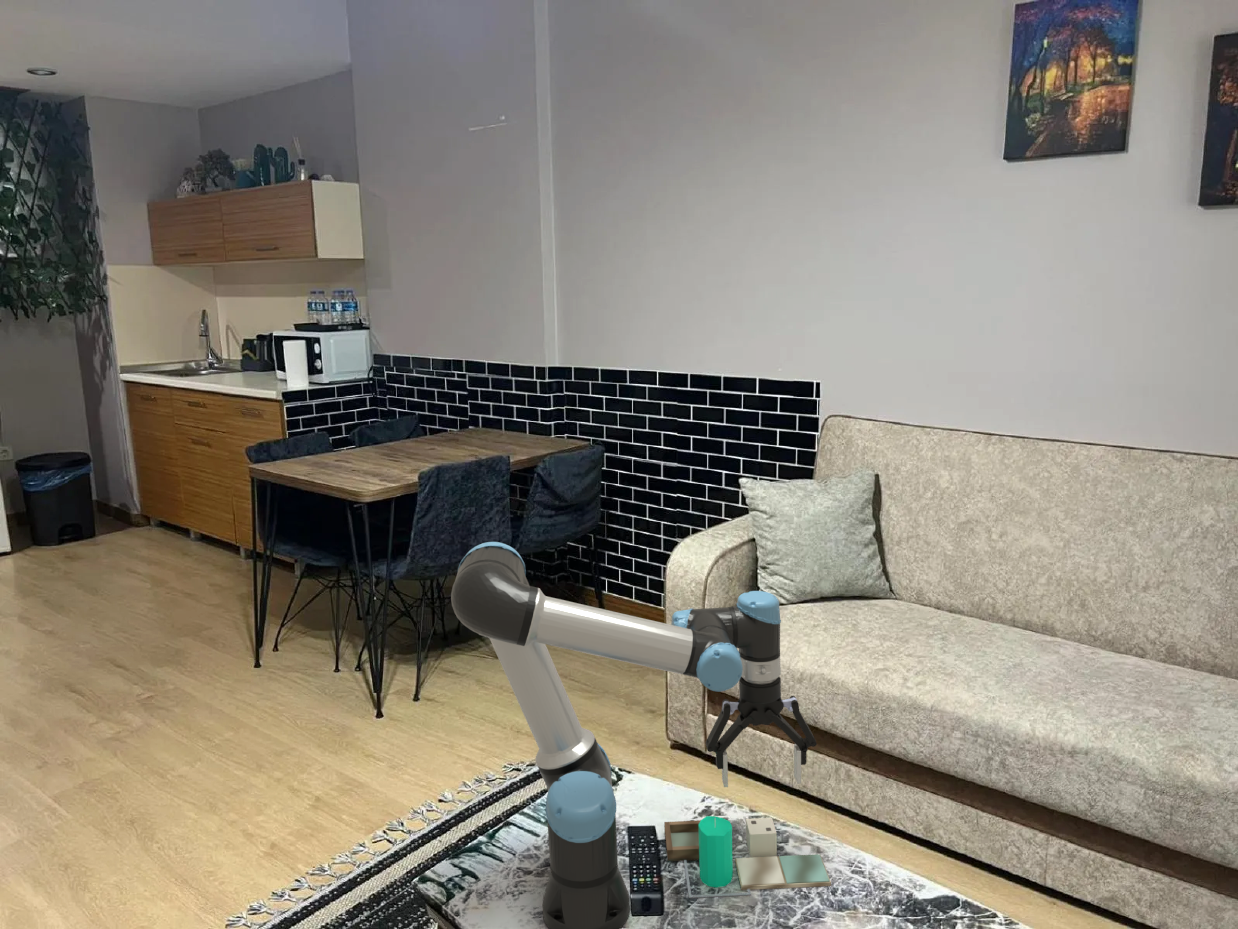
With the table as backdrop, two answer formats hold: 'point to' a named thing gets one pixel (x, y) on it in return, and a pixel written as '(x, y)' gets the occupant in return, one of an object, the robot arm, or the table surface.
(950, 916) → the table surface
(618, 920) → the robot arm
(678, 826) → the tray
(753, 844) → the die
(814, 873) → the beige green flat slab
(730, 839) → the candle
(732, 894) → the pad
